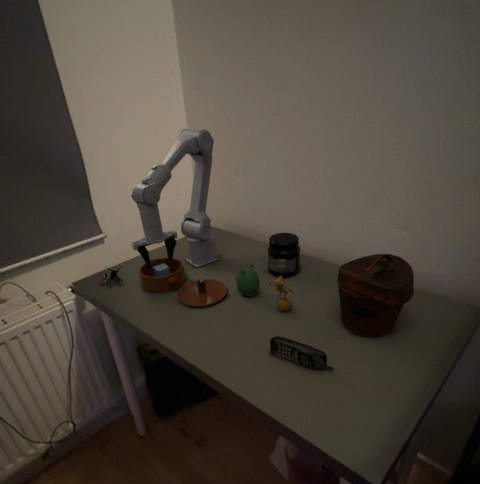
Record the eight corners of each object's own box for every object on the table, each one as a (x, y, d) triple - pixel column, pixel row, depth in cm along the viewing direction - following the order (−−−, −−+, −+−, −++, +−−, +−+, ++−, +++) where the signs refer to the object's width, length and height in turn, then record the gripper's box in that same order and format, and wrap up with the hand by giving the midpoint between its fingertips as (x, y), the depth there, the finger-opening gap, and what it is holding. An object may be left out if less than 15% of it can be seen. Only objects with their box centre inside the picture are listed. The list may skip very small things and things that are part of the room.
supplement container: (290, 261, 124) (290, 229, 118) (305, 274, 116) (306, 240, 109) (263, 267, 121) (262, 235, 115) (276, 281, 113) (276, 247, 106)
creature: (121, 290, 117) (128, 274, 122) (115, 278, 113) (123, 262, 118) (99, 290, 117) (107, 274, 123) (92, 279, 114) (101, 263, 119)
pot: (170, 264, 128) (168, 251, 125) (196, 285, 114) (194, 270, 111) (133, 277, 121) (129, 263, 118) (155, 301, 107) (152, 286, 104)
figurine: (300, 311, 98) (302, 273, 92) (289, 321, 94) (290, 283, 88) (276, 302, 103) (275, 266, 96) (264, 312, 99) (263, 275, 92)
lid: (211, 277, 118) (209, 264, 115) (236, 296, 107) (235, 281, 104) (169, 293, 111) (167, 279, 108) (192, 314, 100) (190, 300, 97)
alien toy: (246, 285, 112) (245, 257, 107) (264, 293, 107) (263, 264, 102) (231, 294, 108) (228, 265, 103) (249, 303, 103) (247, 273, 98)
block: (166, 276, 120) (164, 263, 117) (171, 280, 117) (169, 267, 114) (155, 279, 118) (152, 266, 115) (160, 284, 115) (157, 271, 112)
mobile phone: (268, 340, 81) (330, 359, 74) (274, 332, 83) (335, 350, 76) (269, 356, 84) (329, 376, 77) (274, 348, 86) (334, 367, 79)
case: (397, 303, 99) (409, 244, 89) (411, 349, 82) (428, 284, 72) (332, 299, 102) (337, 243, 92) (333, 343, 86) (340, 280, 76)
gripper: (133, 234, 100) (143, 275, 108) (178, 221, 107) (185, 261, 114) (125, 227, 105) (135, 267, 113) (169, 215, 112) (175, 254, 119)
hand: (160, 263), depth 114 cm, fingers open, 7 cm apart
